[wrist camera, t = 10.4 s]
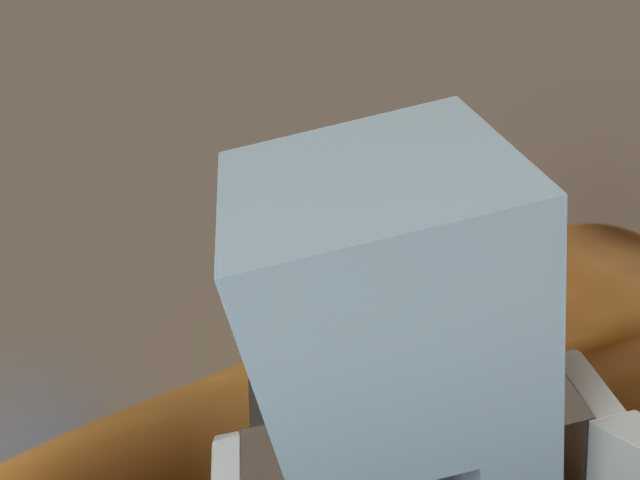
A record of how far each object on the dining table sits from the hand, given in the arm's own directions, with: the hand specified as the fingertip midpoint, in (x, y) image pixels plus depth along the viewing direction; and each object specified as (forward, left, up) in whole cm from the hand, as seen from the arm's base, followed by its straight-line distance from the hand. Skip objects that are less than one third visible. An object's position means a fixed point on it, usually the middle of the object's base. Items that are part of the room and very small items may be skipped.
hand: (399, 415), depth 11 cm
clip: (-1, 0, -7) cm, 8 cm away
